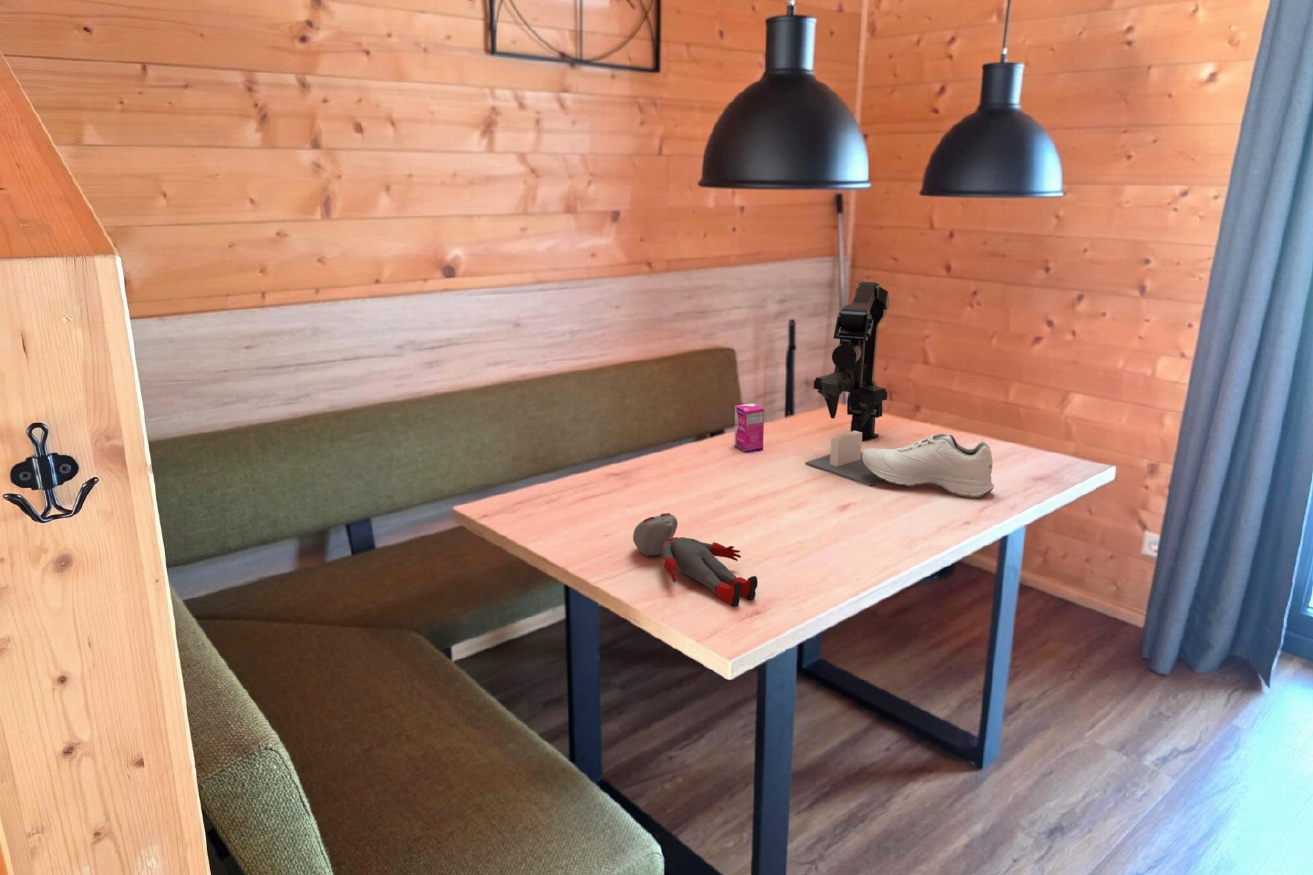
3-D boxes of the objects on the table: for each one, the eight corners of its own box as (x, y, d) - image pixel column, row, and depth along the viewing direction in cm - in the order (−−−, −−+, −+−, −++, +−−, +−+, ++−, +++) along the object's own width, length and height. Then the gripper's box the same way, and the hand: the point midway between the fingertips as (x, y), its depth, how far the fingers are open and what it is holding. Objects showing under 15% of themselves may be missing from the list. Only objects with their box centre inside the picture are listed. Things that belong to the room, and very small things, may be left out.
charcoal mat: (849, 450, 239) (849, 448, 239) (913, 470, 224) (913, 468, 224) (805, 464, 229) (805, 462, 228) (869, 486, 214) (870, 483, 214)
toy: (715, 594, 152) (611, 510, 173) (707, 639, 156) (607, 553, 177) (782, 568, 162) (676, 492, 182) (773, 612, 166) (671, 533, 186)
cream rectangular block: (852, 456, 233) (854, 430, 230) (860, 459, 231) (862, 432, 229) (829, 464, 227) (830, 437, 225) (837, 466, 225) (838, 439, 223)
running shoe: (861, 468, 223) (866, 417, 219) (992, 484, 215) (999, 431, 210) (856, 484, 213) (861, 430, 209) (992, 502, 204) (1001, 446, 200)
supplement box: (733, 447, 242) (734, 405, 239) (752, 444, 244) (754, 402, 241) (744, 453, 237) (745, 410, 234) (764, 450, 239) (765, 408, 236)
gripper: (800, 358, 223) (796, 419, 228) (861, 372, 209) (856, 437, 214) (830, 352, 230) (826, 412, 235) (891, 365, 216) (886, 428, 221)
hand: (847, 422), depth 226 cm, fingers open, 9 cm apart
